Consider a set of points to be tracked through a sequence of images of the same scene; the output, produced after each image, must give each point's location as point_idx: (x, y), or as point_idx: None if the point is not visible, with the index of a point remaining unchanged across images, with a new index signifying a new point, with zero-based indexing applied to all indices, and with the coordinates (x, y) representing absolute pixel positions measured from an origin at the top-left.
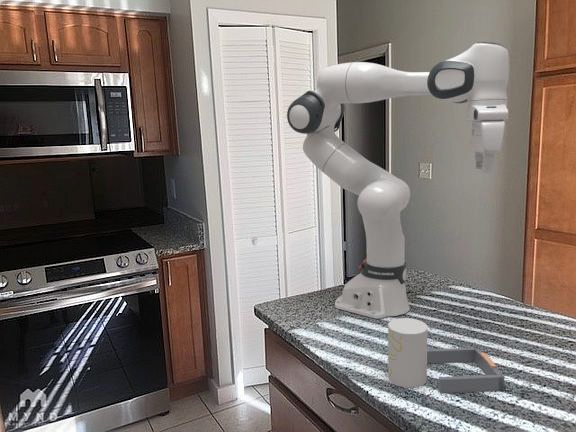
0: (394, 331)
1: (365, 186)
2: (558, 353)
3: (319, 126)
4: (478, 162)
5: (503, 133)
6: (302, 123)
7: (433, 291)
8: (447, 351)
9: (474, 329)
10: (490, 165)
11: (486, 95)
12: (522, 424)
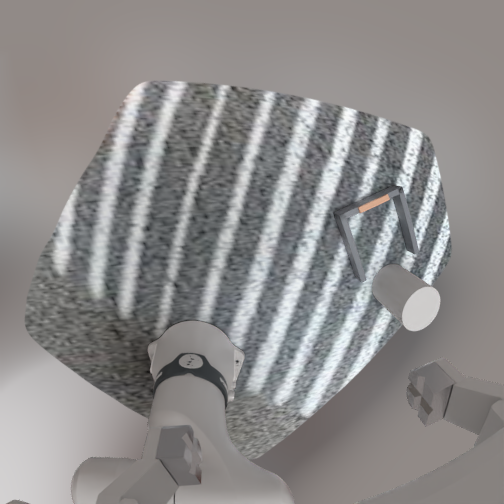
0: (433, 318)
1: None
2: (281, 107)
3: None
4: (195, 477)
5: None
6: None
7: (94, 295)
8: (357, 252)
9: (233, 219)
10: (463, 382)
11: None
12: (437, 175)
